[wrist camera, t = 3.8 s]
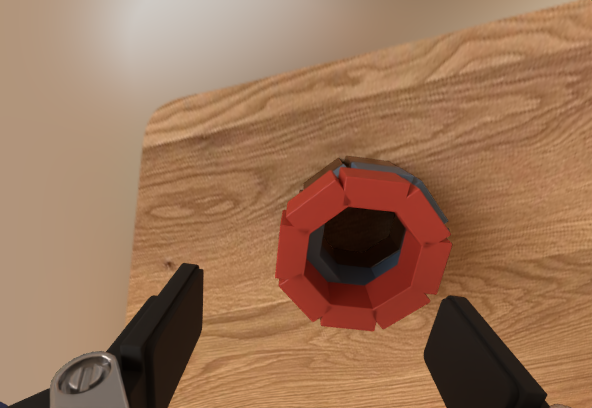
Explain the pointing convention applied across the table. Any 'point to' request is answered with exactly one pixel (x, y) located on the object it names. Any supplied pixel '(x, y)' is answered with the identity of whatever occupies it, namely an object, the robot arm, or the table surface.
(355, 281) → the ring middle
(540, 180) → the table surface
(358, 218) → the table surface
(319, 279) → the ring top
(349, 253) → the ring bottom
